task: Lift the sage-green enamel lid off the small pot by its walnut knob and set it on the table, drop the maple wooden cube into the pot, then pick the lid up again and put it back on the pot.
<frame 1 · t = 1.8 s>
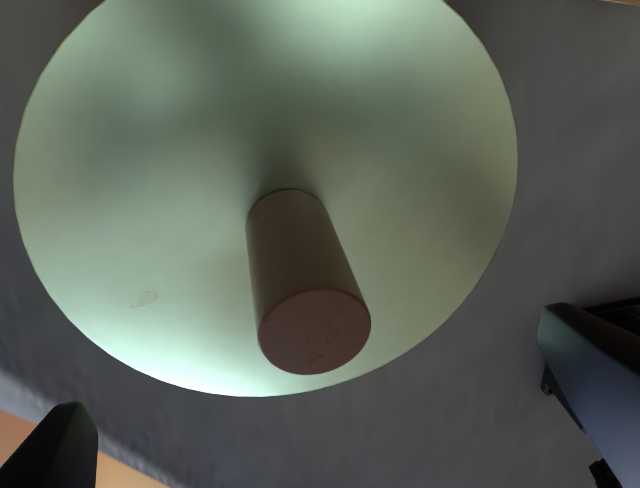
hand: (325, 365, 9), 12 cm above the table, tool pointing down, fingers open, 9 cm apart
lid: (285, 218, 14), point 6 cm above the table, touching pot
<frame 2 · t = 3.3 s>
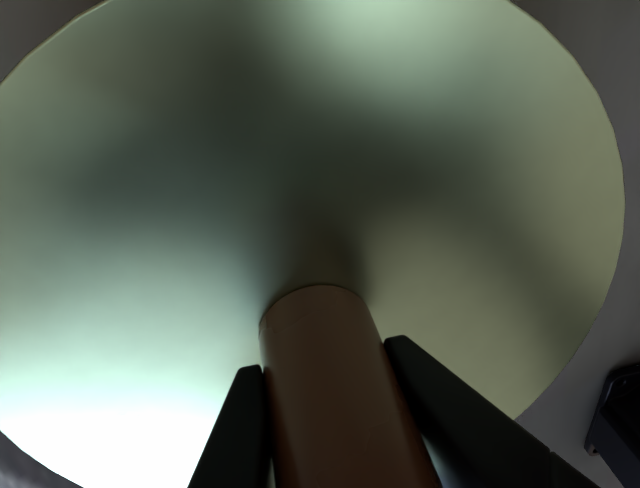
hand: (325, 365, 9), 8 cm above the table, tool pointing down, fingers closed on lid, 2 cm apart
lid: (311, 314, 11), point 6 cm above the table, touching gripper, pot
when the fingers open (2 cm above the table, at t = 8.1 s): lid stays where it is, point 1 cm above the table.
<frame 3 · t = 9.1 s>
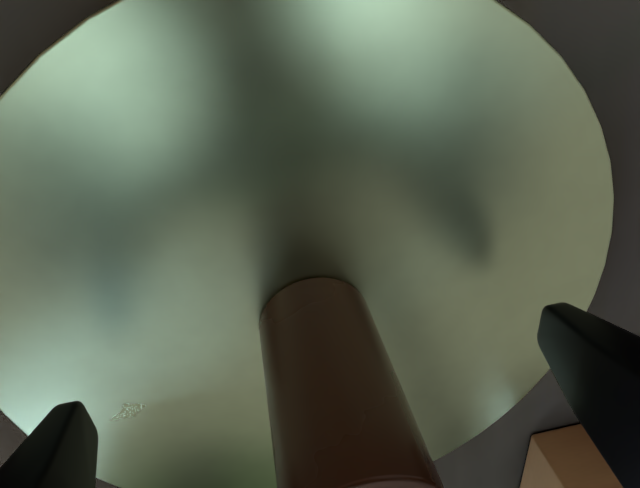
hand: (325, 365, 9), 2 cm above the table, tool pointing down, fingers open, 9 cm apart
lid: (310, 306, 11), point 1 cm above the table
cube: (578, 458, 18), on the table
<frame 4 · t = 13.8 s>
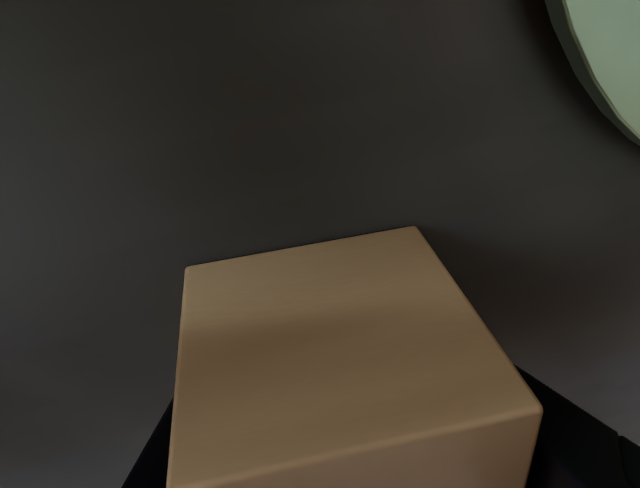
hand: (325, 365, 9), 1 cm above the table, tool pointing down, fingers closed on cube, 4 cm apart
cube: (314, 331, 10), on the table, touching gripper
when the fingers open (7 cm above the table, at t = 18.2 s): cube drops 6 cm, resting on pot.
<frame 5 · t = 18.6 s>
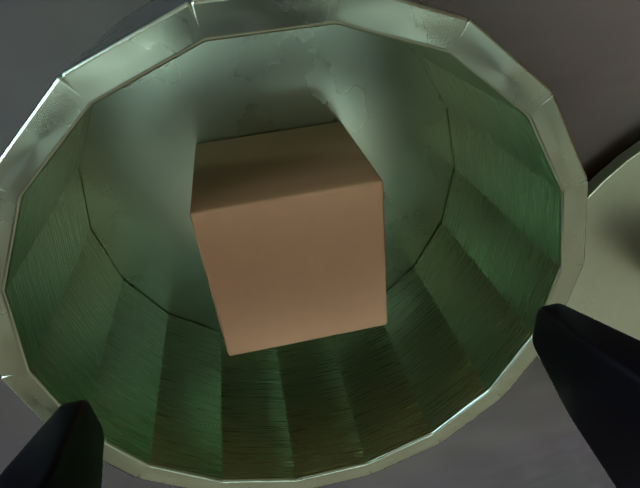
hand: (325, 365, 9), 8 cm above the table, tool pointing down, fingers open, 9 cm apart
cube: (279, 197, 16), resting on pot
pot: (278, 191, 16), on the table
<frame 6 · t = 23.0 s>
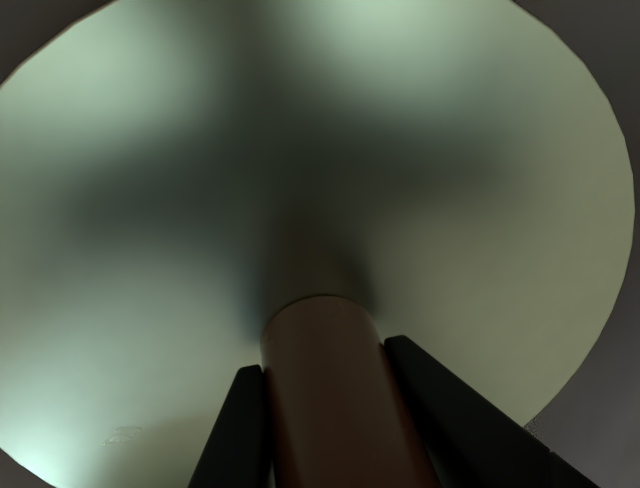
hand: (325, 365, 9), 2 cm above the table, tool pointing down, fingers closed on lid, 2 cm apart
lid: (313, 324, 10), point 1 cm above the table, touching gripper
when the fingers open (8 cm above the table, at t = 27.5 s): lid stays where it is, resting on pot.
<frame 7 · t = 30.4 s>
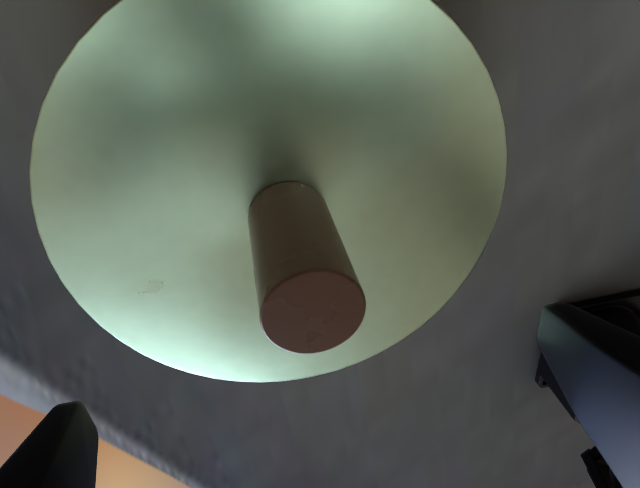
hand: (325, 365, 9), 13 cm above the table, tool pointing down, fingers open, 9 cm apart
lid: (286, 210, 15), point 6 cm above the table, touching pot
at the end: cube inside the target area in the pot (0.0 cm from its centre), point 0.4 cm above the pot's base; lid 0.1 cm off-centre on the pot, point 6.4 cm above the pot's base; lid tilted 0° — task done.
